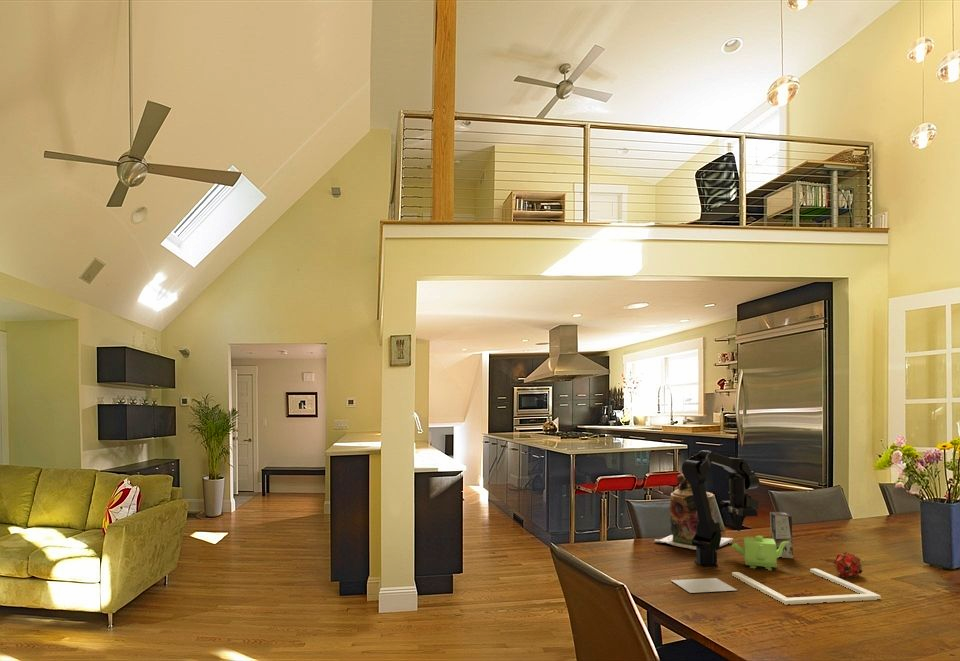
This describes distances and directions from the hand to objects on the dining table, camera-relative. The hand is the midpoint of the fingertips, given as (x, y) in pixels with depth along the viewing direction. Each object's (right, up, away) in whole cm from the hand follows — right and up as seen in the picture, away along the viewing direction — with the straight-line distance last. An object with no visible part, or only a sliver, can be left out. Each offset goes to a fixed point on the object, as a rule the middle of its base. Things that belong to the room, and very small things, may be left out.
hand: (738, 530), depth 261 cm
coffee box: (+18, -10, +2) cm, 21 cm away
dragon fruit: (+28, -8, -27) cm, 40 cm away
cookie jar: (-11, -12, +22) cm, 27 cm away
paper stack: (-30, -7, -44) cm, 53 cm away
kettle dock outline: (+6, -7, -39) cm, 40 cm away
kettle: (+2, -9, -16) cm, 18 cm away
